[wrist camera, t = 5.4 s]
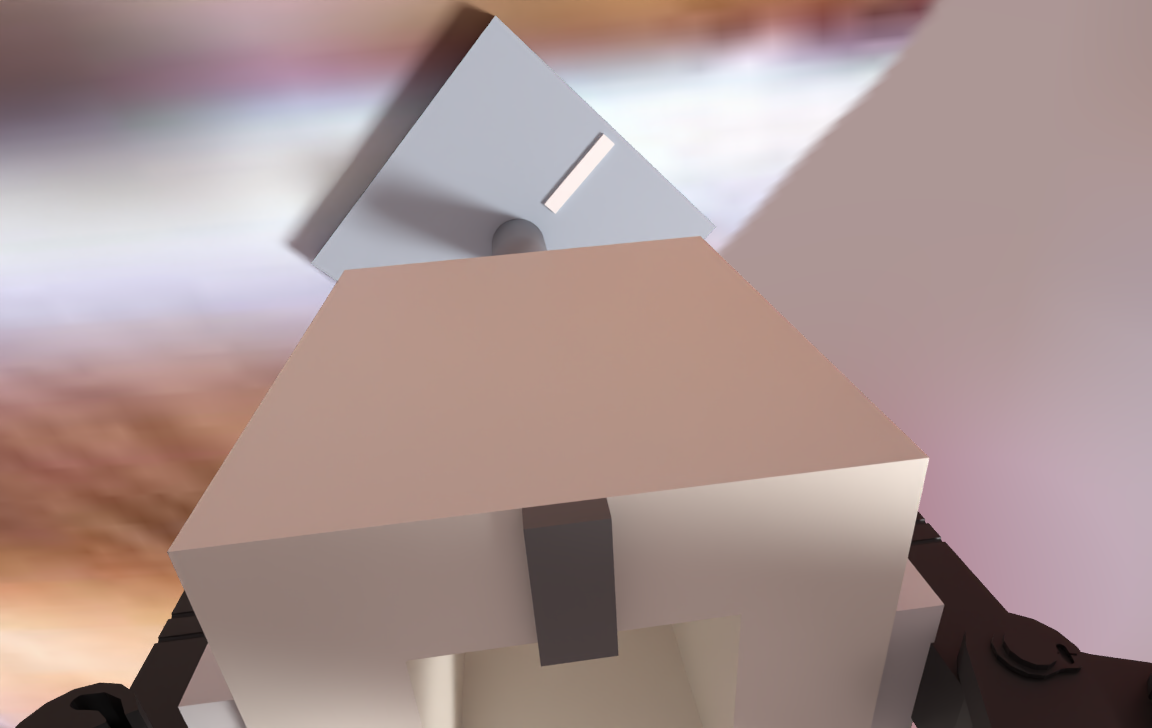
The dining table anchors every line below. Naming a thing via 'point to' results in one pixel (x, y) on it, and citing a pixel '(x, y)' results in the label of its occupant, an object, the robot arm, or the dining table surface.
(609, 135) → the plate
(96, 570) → the dining table surface
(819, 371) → the cube with square hole
